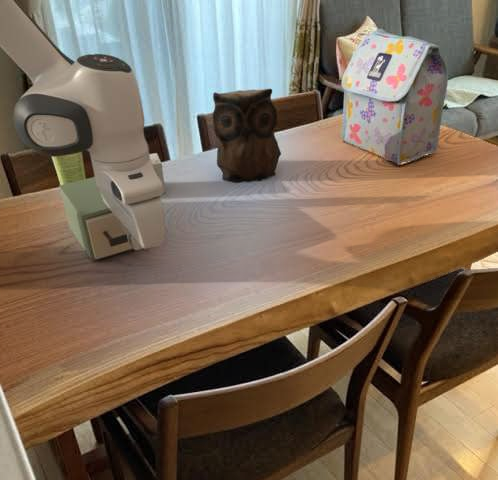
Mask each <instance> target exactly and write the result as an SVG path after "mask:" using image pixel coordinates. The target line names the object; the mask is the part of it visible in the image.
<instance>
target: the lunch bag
mask: <svg viewBox="0 0 498 480" xmlns="http://www.w3.org/2000/svg"><path fill="white" fill-rule="evenodd" d="M448 81H449V69H448V66H447V63H446V60H445V58H444V57H443V55H442V54H441V49H440V46H439V45H437V44H435V43H432V42H428V41H427V40H423V39H420V38H417V37H413V36H409V35H407V36H402V35H401V36H400V35H396V34H393V33H391V32H390V33H389V32H387V31H386V30H384V29H383V28H377V29H374V30H373V31H372V33H371V32H370V33H367V34H364V35H363V37H362V38H361V40H360V41H359V44H358V46H357V47H356V49H355V50H354V52H353V54H352V56H351V58H350V60H349V63H348V65H347V67H346V69H345V71H344V74H343V76H342V78H341V82H340V83H341V84H340V85H341V88H342V89H343V90H344V92H343V109H342V125H341V141H342V142H346V143H348V144H349V145H352V144H353V145H352V146H355V147H357V148H359V147H360V148H359V149H362V150H364V151H366V150H367V152H369V153H371V152H372V153H371V154H373V153H374V154H373V155H376V156H378V155H379V156H378V157H380V156H381V157H380V158H382V157H384V158H386V159H388V160H387V161H389V160H390V161H389V162H391V161H392V162H391V163H393V162H394V163H393V164H395V163H397V164H398V165H397V164H396V165H397V166H399V165H401V163H402V162H408V161H412V160H414V161H416V160H419V159H421V158H420V157H422V158H424V157H426V156H425V154H427V153H428V154H430V153H432V154H434V153H436V152H437V150H438V144H439V137H440V132H441V131H440V130H441V124H442V118H443V110H444V106H445V100H446V96H447V91H448ZM430 155H431V154H430ZM423 156H424V157H423ZM384 158H383V159H384ZM418 158H419V159H418ZM386 159H385V160H386ZM415 159H416V160H415ZM412 162H413V161H412Z"/></svg>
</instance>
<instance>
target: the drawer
mask: <svg viewBox="0 0 498 480" xmlns="http://www.w3.org/2000/svg"><path fill="white" fill-rule="evenodd" d="M86 225H87V229H88V233H89V237H90V241H91V245H92V249H93V253H94V257H95V258H96V259H98V260H100V259H99V258H102V257H105V258H107V257H106V256H108V257H110V256H109V255H111V256H113V255H112V254H115V253H118V254H120V253H119V252H121V253H123V252H122V251H125V250H128V251H130V250H129V249H131V250H133V249H132V248H133V247H132V246H131V245H130V243H129V242H128V238H127V234H126V232H125V229H124V227H123V224H122V223H121V221H120V220H119V219H118V218H117V217H116V216H115V214H114V213H113V212H109V213H105V214H101V215H97V216H94V217H90V218H86ZM125 252H126V251H125ZM115 255H116V254H115ZM102 259H103V258H102Z"/></svg>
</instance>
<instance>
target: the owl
mask: <svg viewBox="0 0 498 480" xmlns="http://www.w3.org/2000/svg"><path fill="white" fill-rule="evenodd" d="M272 94H273V89H272V88H264V89H247V90H235V91H228V92H221V93H219V92H216V91H214V92H213V93H212V99H213V103H214V110H213V112H212V123H213V127H212V129H213V131H214V132H213V133H214V134H215V137H216V139H217V143H218V145H217V151H216V165H217V167H218V168H219V169H220V171H221V173H222V177H221V179H222V181H224V182H225V181H226V182H229V183H235V184H240V183H243V182H246V183H251V182H255V181H256V182H261V181H263V180H267V179H269V178H270V177H272V176H275V175H276V169H277V166H278V163H279V159H280V156H281V155H282V152H281V149H280V146H279V143H278V140H277V139H276V136H275V132H274V130H275V129H276V127H277V125H278V119H279V118H278V117H279V116H278V112H277V108H276V107H275V105H274V103H273V100H272V97H271V96H272Z"/></svg>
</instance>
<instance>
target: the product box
mask: <svg viewBox="0 0 498 480" xmlns="http://www.w3.org/2000/svg"><path fill="white" fill-rule="evenodd" d="M149 155H150V159H151V161H152V165H153V168H154V170H155V172H156V174H157V175H158V177H159V179H160V180H161V182H162V184H163V191H164V193H163V194H165V193H166V185H165V179H164V171H163V164H162V161H161V159H160V157H159V154H158V153H157V152H154V153H149Z"/></svg>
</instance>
